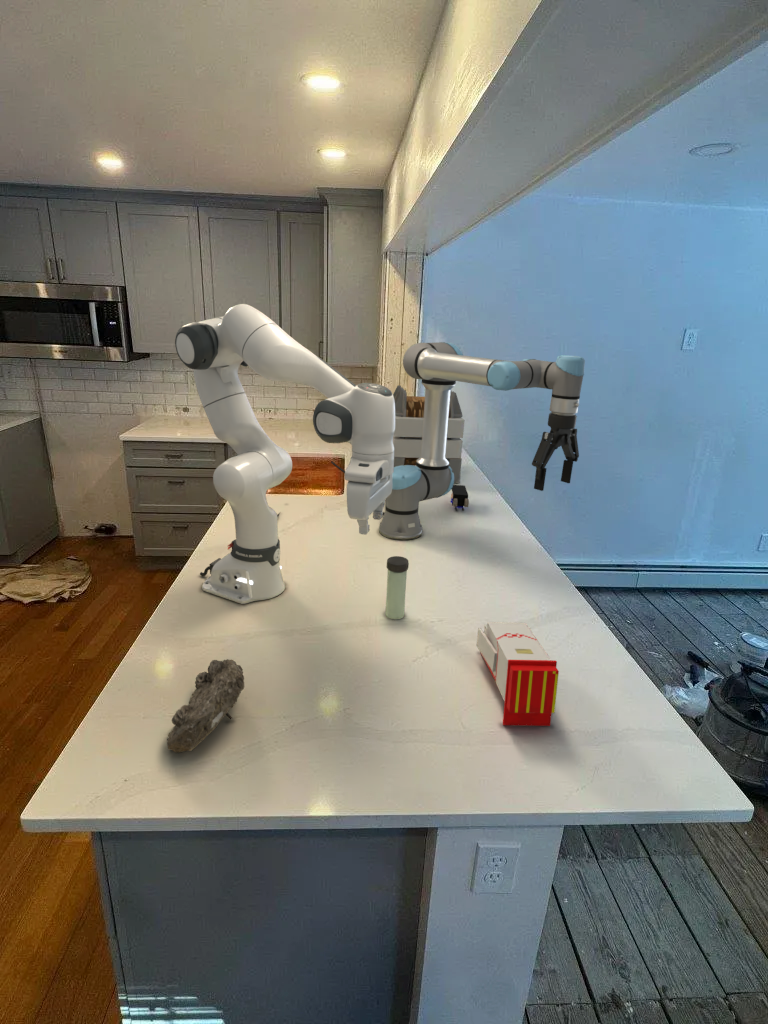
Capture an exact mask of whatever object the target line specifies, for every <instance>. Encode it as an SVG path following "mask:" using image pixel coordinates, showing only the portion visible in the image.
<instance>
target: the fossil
mask: <svg viewBox="0 0 768 1024" xmlns="http://www.w3.org/2000/svg"><path fill="white" fill-rule="evenodd" d="M243 670H244V669H243V667H242V665H240V664H237V662H236V661H235V660H234V659H232V658H231V659H227V658H226V659H224V660H223V661H222V660H217V659H212V660H211V661H210V663H209V665H208V666H207V671H201V672H199V673H198V674H197V675H196V676H195V680H194V684H195V685H194V687H195V689H194V690H193V693H192V694H191V697H190V698H189V700H188V704H184V705H182V706H181V707H180V709H177V710H176V711H175V713H174V715H173V716H172V718H171V723H172V724H173V727H172V730H171V731H170V732H168V734H167V738H166V741H167V742H166V745H167V749H168V750H169V751H173V752H174V753H176V754H178V753H182V752H188V751H189V752H192V751H193V750H195V748H196V747H197V746H199V744H200V743H201V742H203V741H204V740H205V739H206V738H207V737H208V736H209V735H210V734H211V733H212V732H214V730H215V729H217V727H218V726H219V724H220V722H221V721H222V720H223V719H224V718H225V716H226V717H227V719H229V720H233V717H232V715H230V714H229V710H230V709H231V708H234V706H235V704H236V703H237V702H238V699H239V697H240V695H241V693H242V691H243V690H245V689H244V688H245V675H244V671H243Z"/></svg>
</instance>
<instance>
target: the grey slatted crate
mask: <svg viewBox="0 0 768 1024" xmlns="http://www.w3.org/2000/svg"><path fill="white" fill-rule="evenodd" d="M392 394H393V397H394V401H395V432H394V435H393V445H394V467H396V466H401V465H404V466H405V465H413V466H416V461H417V459H418V458H420V457H421V449H422V434H423V419H424V404H425V396H415V395H414V396H413V395H412V396H411V395H407V394H408V393H407V390H406V389H404V388H403V387H402V385H399V384H398V385H397V386H396V388H395V390H394V392H393V393H392ZM464 429H465V419H464V418H463V411H462V408H461V405H460V402H459V398H458V395H457V392H455V391H453V390H451V392H450V404H449V416H448V428H447V441H446V453H445V458H446V459H447V461H448V462H449V466H450V467H451V469H452V473H454V484H455V483H456V484H459V483H461V472H462V461H463V460H462V453H463V442H464V441H463V440H462V439H463V438H464V431H465V430H464Z"/></svg>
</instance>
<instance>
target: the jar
mask: <svg viewBox="0 0 768 1024" xmlns="http://www.w3.org/2000/svg"><path fill="white" fill-rule="evenodd" d="M407 574H408V570H407V571H405V572H392V571H390V570H388V569H387V578H386V579H387V580H386V598H385V599H386V600H385V616H386V618H388V619H390V620H401V619H402V618H404V616H405V607H406V606H405V605H406V590H407V589H406V588H407Z"/></svg>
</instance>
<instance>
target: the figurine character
mask: <svg viewBox="0 0 768 1024" xmlns="http://www.w3.org/2000/svg"><path fill="white" fill-rule="evenodd" d="M449 502H450V504H451V506H452V507H453V508H454V511H456V512H457V511H458V509H461V511H462V512H464V511H465V508H469V505H470V500H469V492H468V490H467V488H466V485H464V484H463V485H461V484H453V487H452V489H451V494H450V501H449Z"/></svg>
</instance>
